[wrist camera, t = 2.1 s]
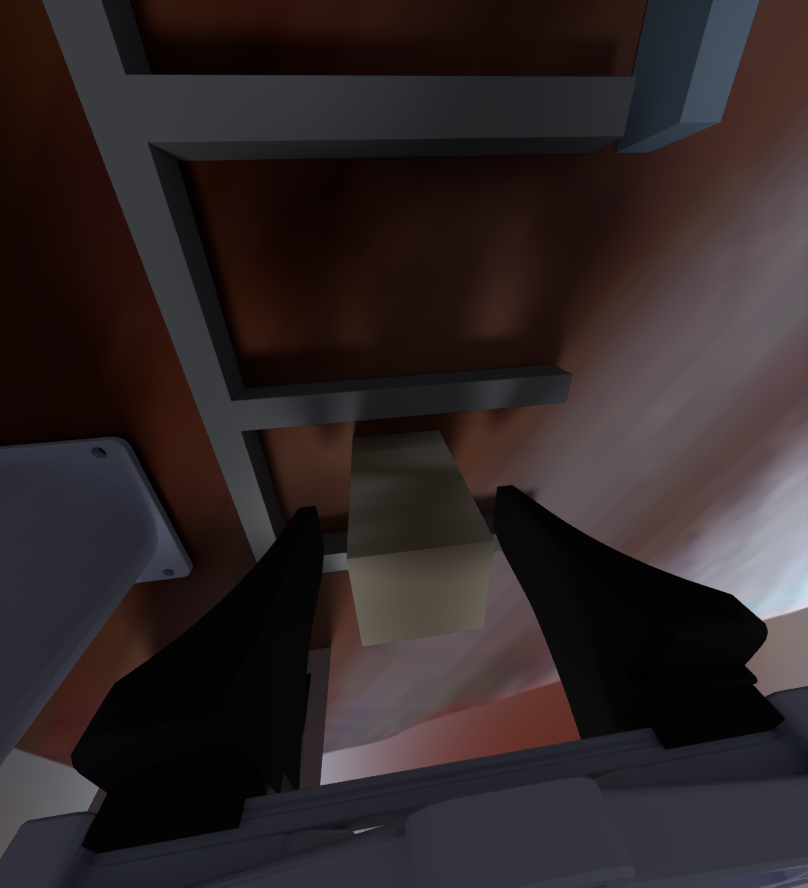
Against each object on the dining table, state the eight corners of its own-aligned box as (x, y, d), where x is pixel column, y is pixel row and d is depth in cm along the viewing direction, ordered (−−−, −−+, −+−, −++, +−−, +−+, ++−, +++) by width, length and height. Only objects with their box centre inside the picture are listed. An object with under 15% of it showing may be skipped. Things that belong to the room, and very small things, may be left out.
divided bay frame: (271, 556, 17) (258, 596, 15) (-149, -654, 5) (-547, -1382, 3) (557, 522, 18) (582, 553, 16) (808, -486, 6) (1040, -882, 4)
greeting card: (328, 639, 21) (276, 1234, 8) (346, 694, 25) (329, 1168, 12) (150, 668, 20) (-230, 1380, 7) (195, 720, 24) (-6, 1261, 11)
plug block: (362, 506, 16) (362, 646, 10) (352, 437, 14) (346, 558, 8) (438, 498, 17) (483, 628, 10) (438, 429, 15) (494, 540, 9)
